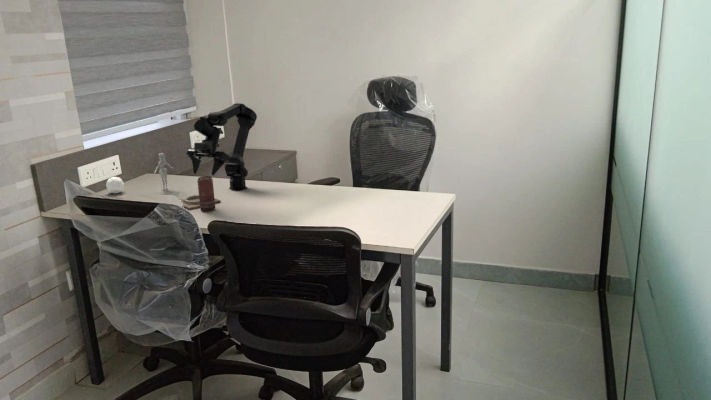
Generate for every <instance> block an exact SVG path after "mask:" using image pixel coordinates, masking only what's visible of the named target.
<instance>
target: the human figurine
mask: <svg viewBox="0 0 711 400" xmlns="http://www.w3.org/2000/svg"><path fill="white" fill-rule="evenodd" d="M157 156H158V158H159V161H158V164H157V166H156V167H155V171H153V175H156V173H157V170H158V169H159V172H158V175H159V176H160V178H161V182H162V191H163V192H165V191H168V189H169V188H168V180H167V178H168V168H166V167H165V165H167V166H169V167H170V168H171V169H174V167H173V166H171V164H169V163H168V162H167V160H166V154H165V152H160V153H158V155H157Z"/></svg>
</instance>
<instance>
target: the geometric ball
mask: <svg viewBox="0 0 711 400" xmlns="http://www.w3.org/2000/svg"><path fill="white" fill-rule="evenodd" d="M105 183H106V184H105V187H106V189H107V190H108V191H109V193H112V194H118V193H121V192H122V191H123V190H124V188H125V182H124V181H123V179H122V178H121V177H119V176H118V177H117V176H112V177H109V178H108V180H107V181H106V182H105Z"/></svg>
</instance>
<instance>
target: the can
mask: <svg viewBox="0 0 711 400" xmlns="http://www.w3.org/2000/svg"><path fill="white" fill-rule="evenodd" d="M197 190H198V195H199V201H200V207H199V209H200V211H201V212H203V213H209V212H214V211H215V209H216V203H215V199H216V198H215V190H214V180H213V178H212V176H200V177H198V178H197ZM214 198H215V199H214Z"/></svg>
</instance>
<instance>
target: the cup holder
mask: <svg viewBox="0 0 711 400" xmlns="http://www.w3.org/2000/svg"><path fill="white" fill-rule="evenodd" d="M214 199H215V204H220V203H221V199H217V198H215V197H214ZM179 200H181V202H182V203H183V206H184V207H185V208H184V207H183V208H184V209H186V208H187V209H186V210H189V211H190V210H194V209H200V201H199V194H192V195H188V196H185V197H184V198H180V199H179Z"/></svg>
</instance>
